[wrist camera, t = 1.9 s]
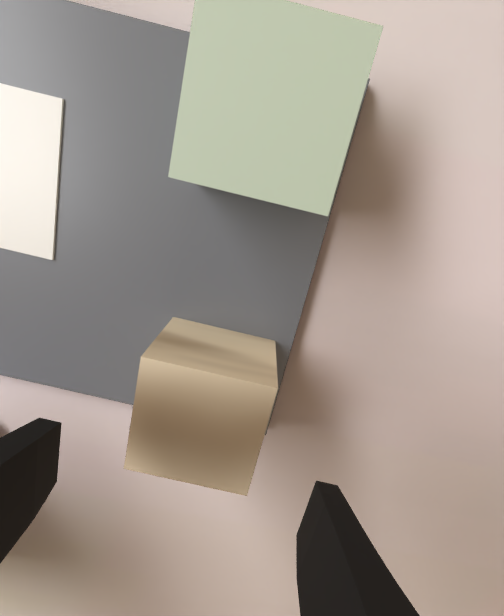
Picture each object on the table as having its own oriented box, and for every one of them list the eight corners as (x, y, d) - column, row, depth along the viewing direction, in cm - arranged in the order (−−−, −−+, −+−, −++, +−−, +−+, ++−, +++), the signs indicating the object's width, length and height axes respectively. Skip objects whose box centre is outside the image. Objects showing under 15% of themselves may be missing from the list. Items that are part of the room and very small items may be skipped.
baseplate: (265, 428, 17) (265, 436, 16) (-84, 349, 16) (-97, 354, 16) (366, 83, 13) (370, 77, 12) (-108, -39, 12) (-127, -51, 11)
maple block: (251, 427, 16) (246, 495, 13) (157, 405, 16) (124, 468, 12) (275, 340, 15) (278, 388, 11) (173, 316, 15) (140, 356, 11)
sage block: (310, 212, 13) (328, 216, 10) (196, 184, 13) (168, 176, 9) (346, 81, 12) (383, 26, 8) (220, 48, 12) (198, -23, 8)
